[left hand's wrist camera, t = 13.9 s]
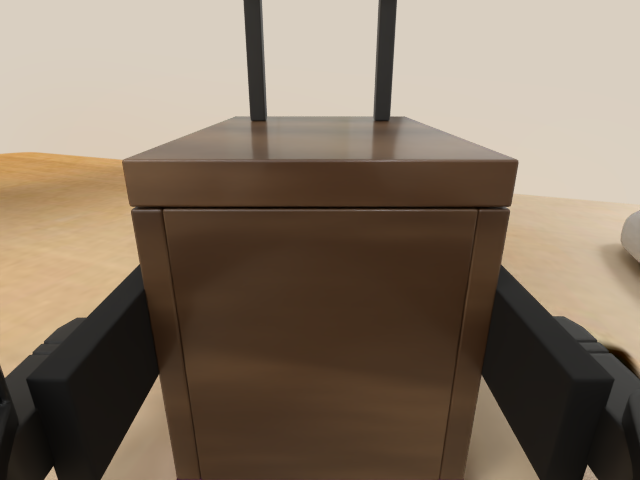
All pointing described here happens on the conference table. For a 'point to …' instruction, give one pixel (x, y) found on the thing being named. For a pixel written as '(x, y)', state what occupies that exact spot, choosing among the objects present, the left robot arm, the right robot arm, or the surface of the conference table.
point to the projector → (632, 235)
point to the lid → (320, 153)
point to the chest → (320, 337)
